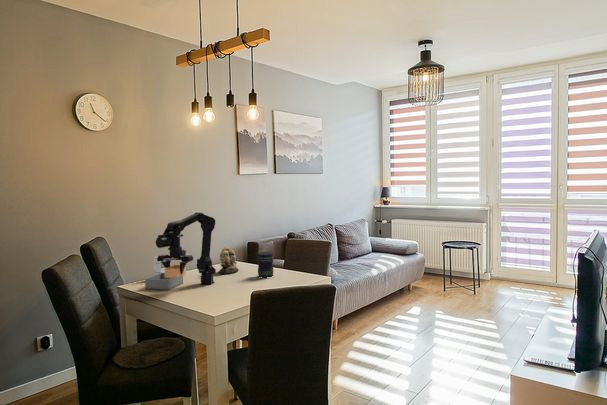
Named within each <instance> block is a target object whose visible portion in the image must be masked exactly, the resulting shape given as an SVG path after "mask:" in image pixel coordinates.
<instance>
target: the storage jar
mask: <svg viewBox="0 0 607 405" xmlns="http://www.w3.org/2000/svg"><path fill="white" fill-rule="evenodd" d="M257 263H258V264H257V265H258V266H257V278H259V277H262V278H261V279H268V278H267V277H272V276H273V277H274V252H270V251H263V252H262V251H261V252H257ZM273 277H272V278H273Z"/></svg>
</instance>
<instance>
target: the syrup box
mask: <svg viewBox="0 0 607 405" xmlns="http://www.w3.org/2000/svg"><path fill="white" fill-rule="evenodd" d="M157 257H158V256H154V257H153V265H154V268H153V270H154V275H157V274H159V273H165V266H164V265H163V263H161V262H162V261H157Z"/></svg>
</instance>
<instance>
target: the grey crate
mask: <svg viewBox="0 0 607 405" xmlns="http://www.w3.org/2000/svg"><path fill="white" fill-rule="evenodd" d="M144 280H145V281H144V284H145V286H144V287H145V290H147V289H149V290H150V291H151V290H152V291H153V290H154V291H170V290H172V289H175V288H177V287H179V286H181V285H183V284H184V275H183V276H181V277H178V278H165V273H159V274H157V275H155V274H153V275H152V276H149V277H147V278H144ZM149 290H148V291H149Z"/></svg>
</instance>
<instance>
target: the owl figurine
mask: <svg viewBox="0 0 607 405" xmlns="http://www.w3.org/2000/svg"><path fill="white" fill-rule="evenodd" d="M236 257H237V256H236V253H235V251H234V250H233V249H231V248H230V247H228V246H225V247H223V248H222V249H221V252H220V254H219V258H220V259H219V260H220V262H221V263H220V266H221V268H220V269H219V270H218V274H219V275H232V274H236V273H238V272H239V268H238V267H237V261H236Z"/></svg>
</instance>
